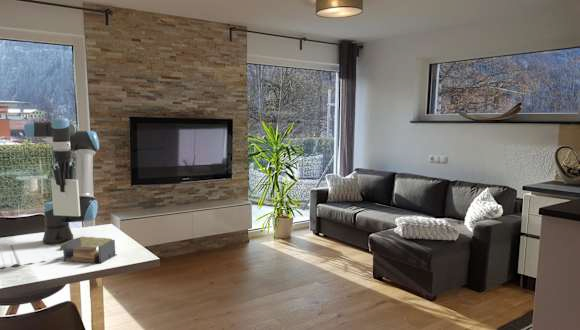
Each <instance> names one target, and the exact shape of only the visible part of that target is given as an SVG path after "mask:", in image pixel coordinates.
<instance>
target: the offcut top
mask: <svg viewBox="0 0 580 330" xmlns="http://www.w3.org/2000/svg"><path fill="white" fill-rule="evenodd" d="M96 250H97V247H90V246H78V247H76V248H74V249H73V253H85V254H91V253H93V252H95V251H96Z"/></svg>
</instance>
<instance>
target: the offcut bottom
mask: <svg viewBox="0 0 580 330" xmlns="http://www.w3.org/2000/svg"><path fill="white" fill-rule="evenodd" d="M71 260H72V261H78V262H92V263H94V262H96V261H98V260H99V256H98V257H96V258H82V257H73V256H72V257H71Z"/></svg>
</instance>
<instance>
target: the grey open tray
mask: <svg viewBox="0 0 580 330" xmlns="http://www.w3.org/2000/svg"><path fill="white" fill-rule="evenodd" d="M77 238H80V239H81V246H90V247H96V248H97V247H99V246H101V245H103V244H105V243H107V242H109V241H111V240H113V238H105V237H94V236H80V237H75V238H73V240H75V239H77ZM70 241H72V240H70ZM70 241H68V242H70ZM65 243H67V242H65ZM65 243H63V244H65ZM63 244H60V246H59V250H60V251H63Z"/></svg>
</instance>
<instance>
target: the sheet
mask: <svg viewBox="0 0 580 330" xmlns="http://www.w3.org/2000/svg"><path fill="white" fill-rule="evenodd" d="M50 183H51V184H50V186H51V187H50V188H51V196H52V197H51V199H52V200H51V201H53V214H54V215H59V216H81V215H80V200H79V186H78V180H76V179H73V180H67V179H65V185H66V186H67V199H65V198H61V191H60V185H57V184H56V180H55V178H51V179H50Z"/></svg>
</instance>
